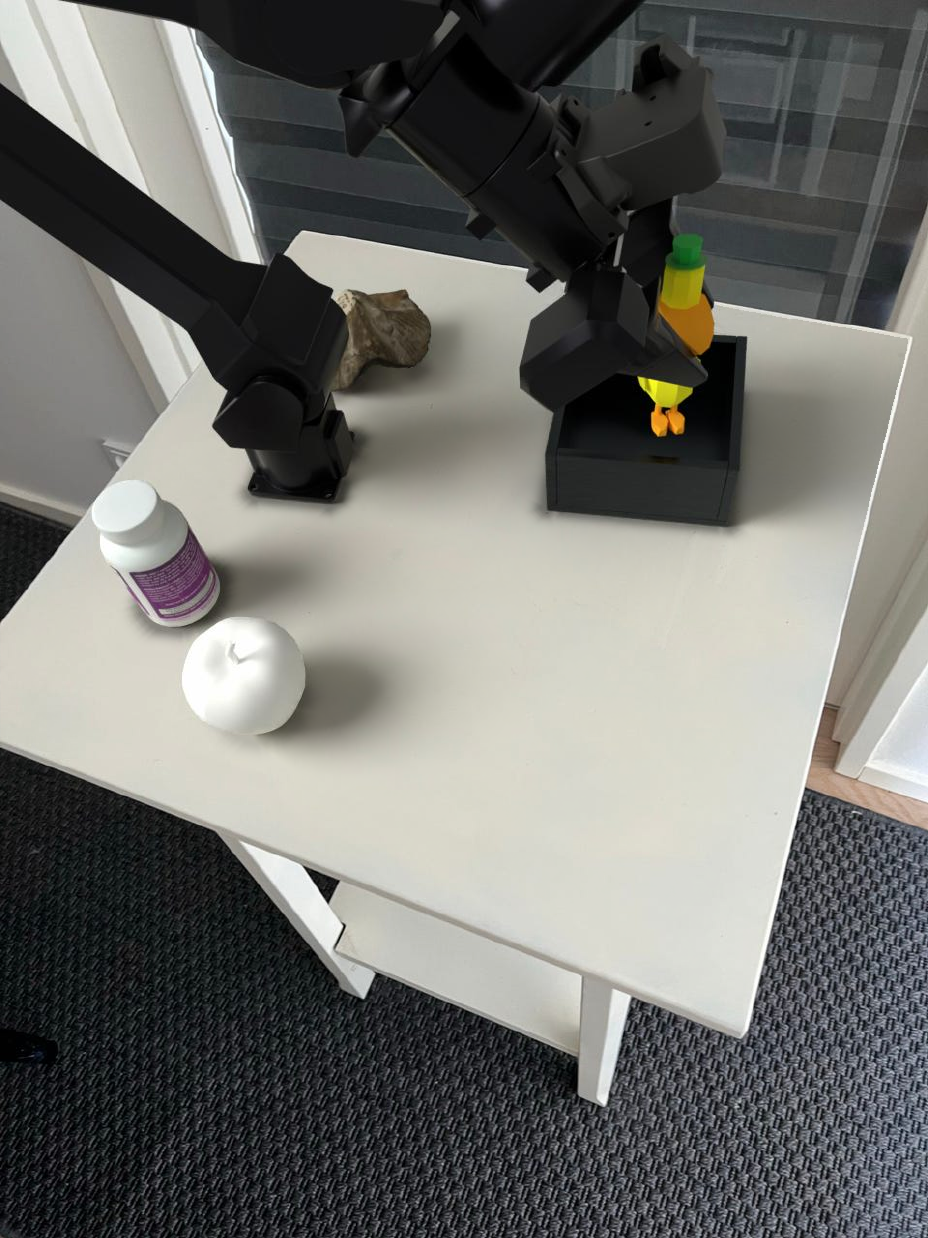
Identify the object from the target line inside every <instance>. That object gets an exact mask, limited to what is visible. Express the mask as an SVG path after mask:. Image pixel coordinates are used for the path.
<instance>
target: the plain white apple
mask: <svg viewBox="0 0 928 1238" xmlns="http://www.w3.org/2000/svg"><path fill="white" fill-rule="evenodd" d="M181 674H182V676H181V677H182V679H181V680H182V681H181V684H182V689H183V693H184V696H185V699H186V701H187V703H188V704H189V707H190V708H191V710H192V711H193V713H194V714H196V716H197V717H198V718H199V719H200V720H201V721H203V722H204V723H206V724H208V725H209V726H211V727H212V728H215V729H217V730H220V731H223V732H225V733H229V734H234V735H245V736H252V735H253V736H254V735H262V734H266V733H270V732H274V731H276V730H277V729H279V728H281V727H282V726H283V725H285V724H286V723H287V722H288V720H289V719H290V718H291V717H292V716H293V714H294V712H295V711H296V709H297V707H298V705H299V703H300V701H301V699H302V696H303V693H304V690H305V687H306V667H305V661H304V657H303V654H302V651H301V649H300V647H299V645H298V644H297V642H296V639H294V637H293V636H292V635H291V634H290V633H289V632H288V631H287V630H286V629H285V628H284V627H283V626H281V625H280V624H278V623H277V622H275V621H272V620H269V619H266V618H261V617H254V616H253V617H252V616H233V617H226V618H224V619H222V620H220V621H217V622H216V623H215V624H213V625H212V626H211V627H210V628H208V629H207V630H205V631H204V632H202V633H201V634H200V635H199V636H198V637H197V638H196V639H195V640H194V641H193V643H192V645H191V646H190V649H189V650H188V653H187V656H186V658H185V662H184V665H183V669H182V673H181Z"/></svg>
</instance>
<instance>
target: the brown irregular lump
mask: <svg viewBox="0 0 928 1238" xmlns="http://www.w3.org/2000/svg"><path fill="white" fill-rule="evenodd" d="M334 300H335V301H336V303H337V304H338V305H339V306H340V307H341V308H342V309H343V311H344V312H345V314H346V315H347V320H346V321H347V324H348V329H349V333H350V334H349V339H348V344H347V347H346V350H345V352H344V355H343V358H342V360H341V363H340V366H339V369H338V371H337V374H336V377H335V379H334V382H333V385H332V388H331V392H341V391H342V392H343V391H345V390H347V389H349V388H351V387H353V386H354V384H355V383H357V382H358V381H359V380H360V378H361V377H362V376H363V375H364V374H366V372H368V370H370V369H371V368H373V367H377V366H379V367H383V368H387V369H388V368H389V369H397V370H398V369H399V370H400V369H413V368H415V367H417V365H418V364H419V363H421V362H422V360H423V359H425V357H426V356H427V354H428V352H429V350H430V348H429V346H430V343H431V338H432V325H431V321H430V318H429V317H428V316H427V315H426V314H425V313H424V311H423V310H422V309H421V308H420V307H419V305H418V304H417V303H416V302H414V301H413V300H412V299H411V298H410V295H409V293H408V291H407V289H398V290H394V291H389V292H375V293H371V294H367V293H366V292H364V291H360V290H357V289H350V288H346V289H344V290H343V291H342V292H341V293H339V294H338V295H337V297H336V298H335V299H334Z"/></svg>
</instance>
